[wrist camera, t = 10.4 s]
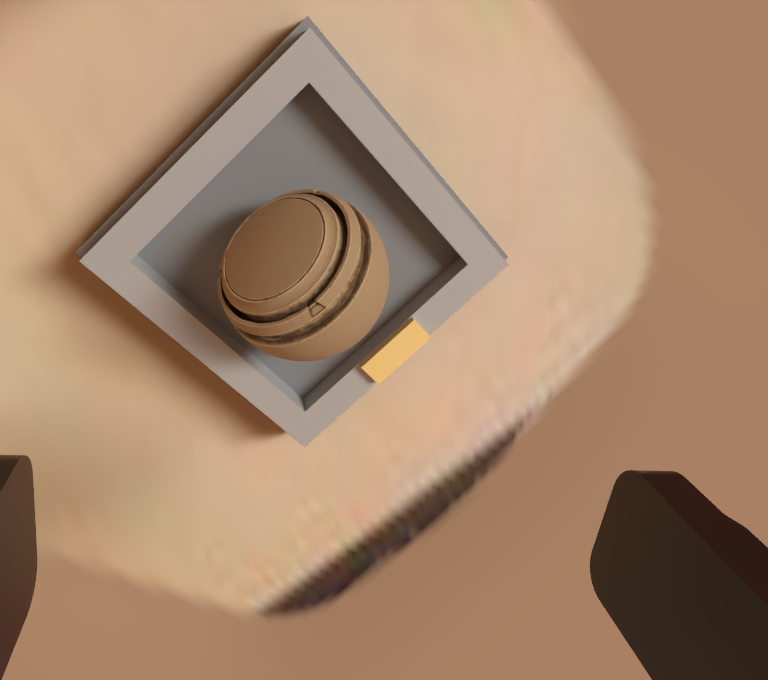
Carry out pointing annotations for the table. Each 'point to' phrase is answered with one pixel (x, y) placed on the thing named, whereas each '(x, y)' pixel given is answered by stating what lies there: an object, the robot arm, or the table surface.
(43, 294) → the table surface
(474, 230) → the grey square tray
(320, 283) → the door knob
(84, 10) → the table surface
